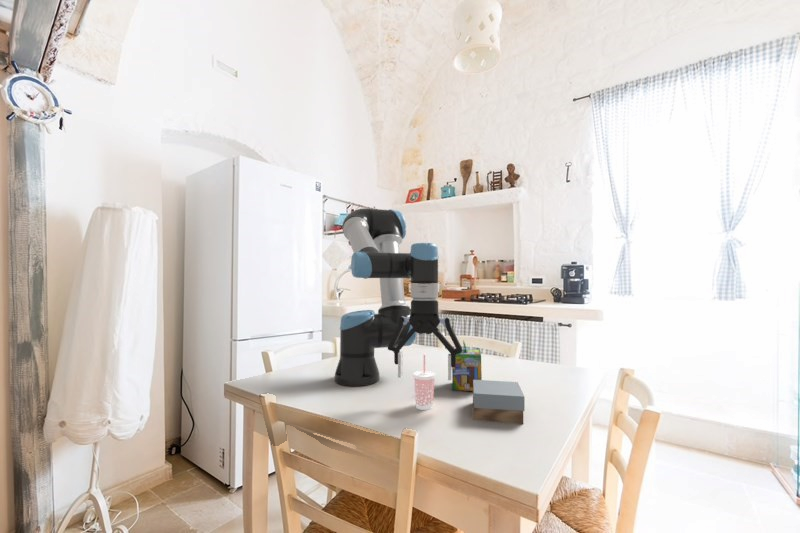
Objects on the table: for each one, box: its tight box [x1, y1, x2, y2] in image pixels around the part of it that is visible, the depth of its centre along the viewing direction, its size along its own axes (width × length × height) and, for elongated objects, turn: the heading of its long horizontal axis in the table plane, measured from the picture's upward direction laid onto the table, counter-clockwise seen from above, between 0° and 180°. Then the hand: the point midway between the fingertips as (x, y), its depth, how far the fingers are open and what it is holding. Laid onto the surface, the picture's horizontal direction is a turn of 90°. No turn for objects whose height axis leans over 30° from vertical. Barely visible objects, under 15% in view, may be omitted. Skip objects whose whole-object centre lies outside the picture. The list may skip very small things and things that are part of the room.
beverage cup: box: [412, 354, 437, 411], centre depth 98 cm, size 6×6×14 cm
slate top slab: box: [472, 379, 526, 412], centre depth 94 cm, size 12×12×4 cm
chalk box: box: [451, 340, 483, 392], centre depth 115 cm, size 9×9×15 cm
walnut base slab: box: [472, 396, 524, 425], centre depth 94 cm, size 12×12×4 cm
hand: (424, 377), depth 97 cm, fingers open, 13 cm apart
